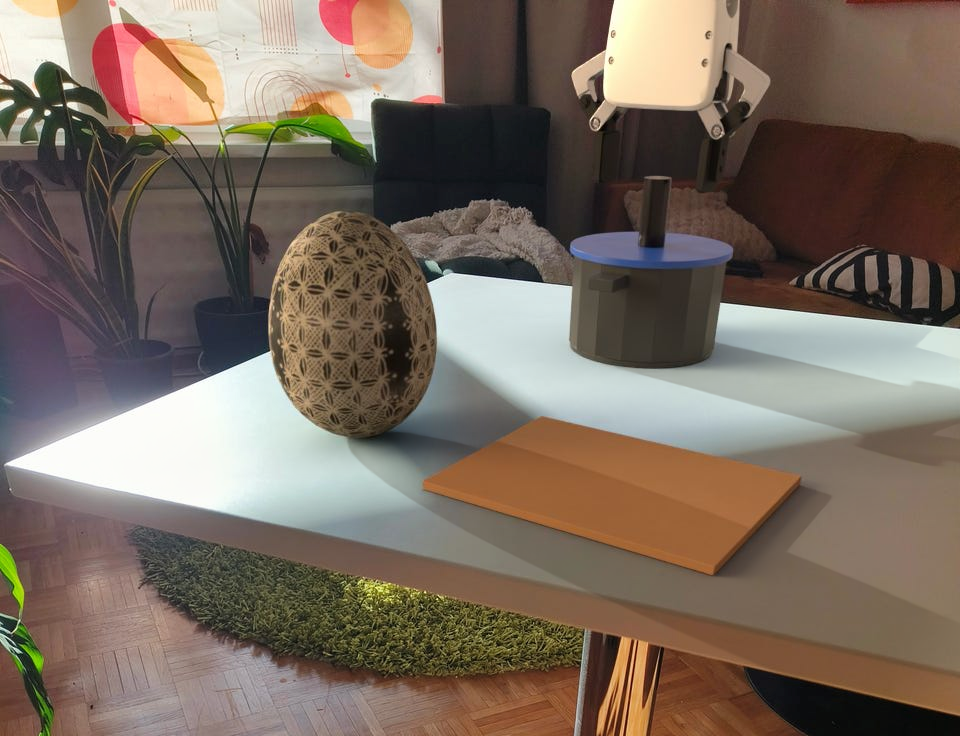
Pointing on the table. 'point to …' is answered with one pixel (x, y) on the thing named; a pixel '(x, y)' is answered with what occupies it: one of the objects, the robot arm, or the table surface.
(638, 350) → the pot
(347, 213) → the decorative egg
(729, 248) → the blue lid
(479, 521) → the table surface
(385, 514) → the table surface
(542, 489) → the cork mat
